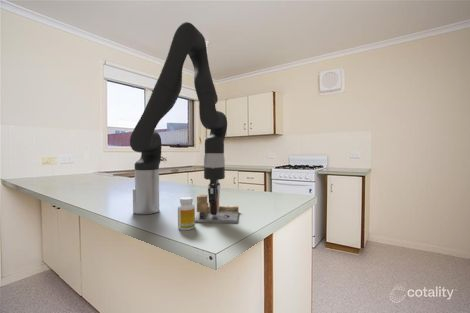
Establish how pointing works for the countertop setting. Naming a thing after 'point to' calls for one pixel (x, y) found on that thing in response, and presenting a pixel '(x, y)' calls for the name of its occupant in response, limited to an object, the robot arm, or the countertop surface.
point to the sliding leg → (217, 204)
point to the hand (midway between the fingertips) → (214, 212)
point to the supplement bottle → (186, 214)
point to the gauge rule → (203, 206)
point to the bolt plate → (218, 217)
